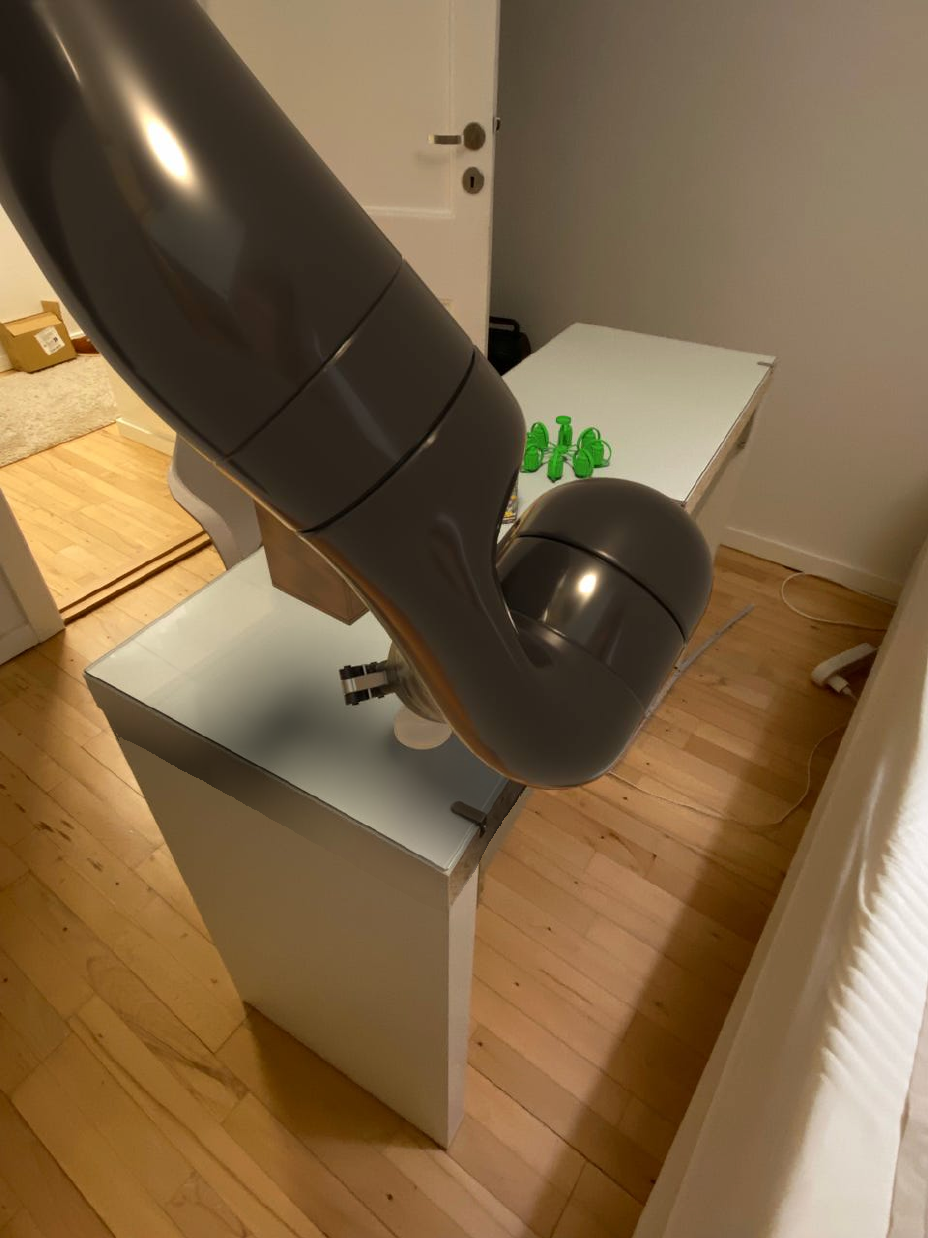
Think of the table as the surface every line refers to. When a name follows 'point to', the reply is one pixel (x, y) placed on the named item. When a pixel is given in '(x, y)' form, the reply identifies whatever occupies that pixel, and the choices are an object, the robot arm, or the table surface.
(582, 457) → the chandelier
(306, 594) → the bin
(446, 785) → the table surface
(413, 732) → the chess piece
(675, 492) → the table surface
